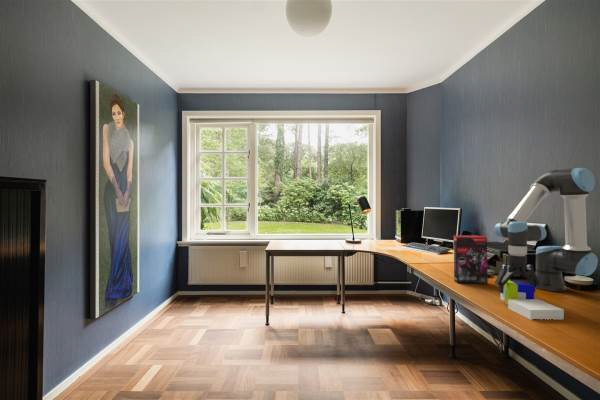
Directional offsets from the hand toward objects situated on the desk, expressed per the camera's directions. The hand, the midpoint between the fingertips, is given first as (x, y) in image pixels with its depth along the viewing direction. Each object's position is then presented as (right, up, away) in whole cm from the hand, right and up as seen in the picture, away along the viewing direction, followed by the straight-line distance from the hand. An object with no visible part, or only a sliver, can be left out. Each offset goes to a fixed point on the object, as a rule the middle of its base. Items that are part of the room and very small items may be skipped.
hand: (516, 299), depth 160 cm
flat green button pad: (+14, -2, +62) cm, 63 cm away
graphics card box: (-3, -2, +39) cm, 39 cm away
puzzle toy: (0, -2, 0) cm, 2 cm away
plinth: (-1, -2, -14) cm, 14 cm away
